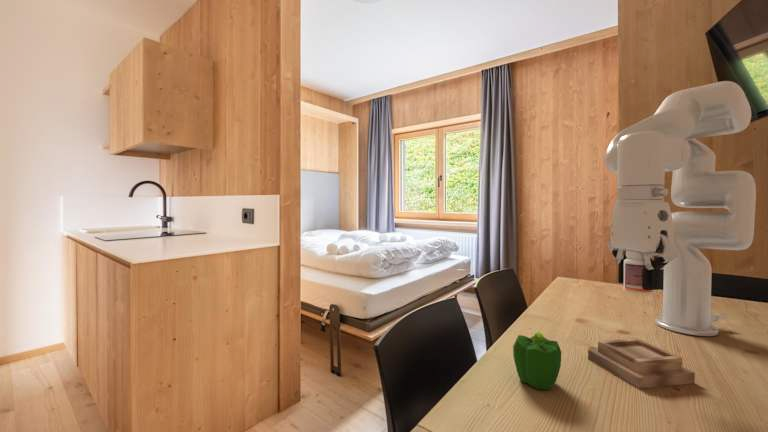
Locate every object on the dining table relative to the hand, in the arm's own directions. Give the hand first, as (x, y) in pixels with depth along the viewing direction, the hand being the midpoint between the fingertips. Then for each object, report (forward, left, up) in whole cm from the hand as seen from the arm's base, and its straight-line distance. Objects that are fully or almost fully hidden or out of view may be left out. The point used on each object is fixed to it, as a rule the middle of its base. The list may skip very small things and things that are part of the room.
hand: (638, 285), depth 66 cm
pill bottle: (0, 0, -2) cm, 2 cm away
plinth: (0, 0, -17) cm, 17 cm away
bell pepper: (+23, +1, -17) cm, 29 cm away
